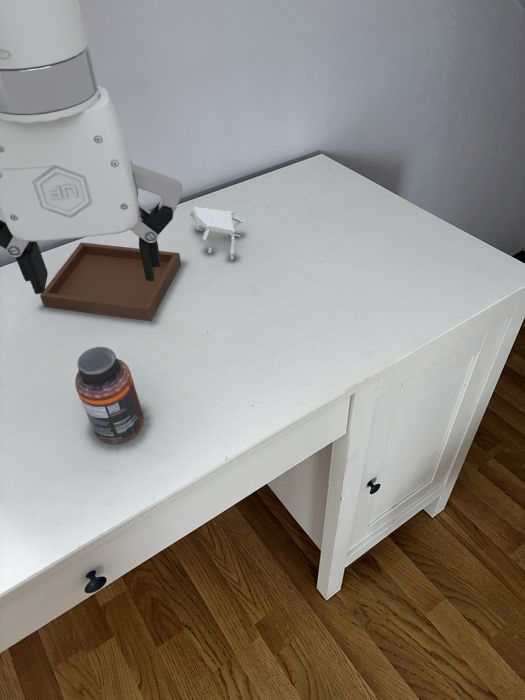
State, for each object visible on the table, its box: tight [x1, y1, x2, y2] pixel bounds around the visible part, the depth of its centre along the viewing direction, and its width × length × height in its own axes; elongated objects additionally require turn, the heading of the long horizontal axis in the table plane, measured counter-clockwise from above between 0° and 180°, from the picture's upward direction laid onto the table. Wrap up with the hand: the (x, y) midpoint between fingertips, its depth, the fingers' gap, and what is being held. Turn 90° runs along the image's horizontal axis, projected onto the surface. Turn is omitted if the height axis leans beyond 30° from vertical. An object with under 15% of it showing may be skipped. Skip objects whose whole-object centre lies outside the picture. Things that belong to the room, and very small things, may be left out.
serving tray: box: [39, 242, 182, 322], centre depth 85 cm, size 17×14×2 cm
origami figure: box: [189, 206, 245, 260], centre depth 92 cm, size 12×8×5 cm
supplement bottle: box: [74, 346, 145, 445], centre depth 63 cm, size 6×6×11 cm
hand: (96, 278), depth 51 cm, fingers open, 9 cm apart
